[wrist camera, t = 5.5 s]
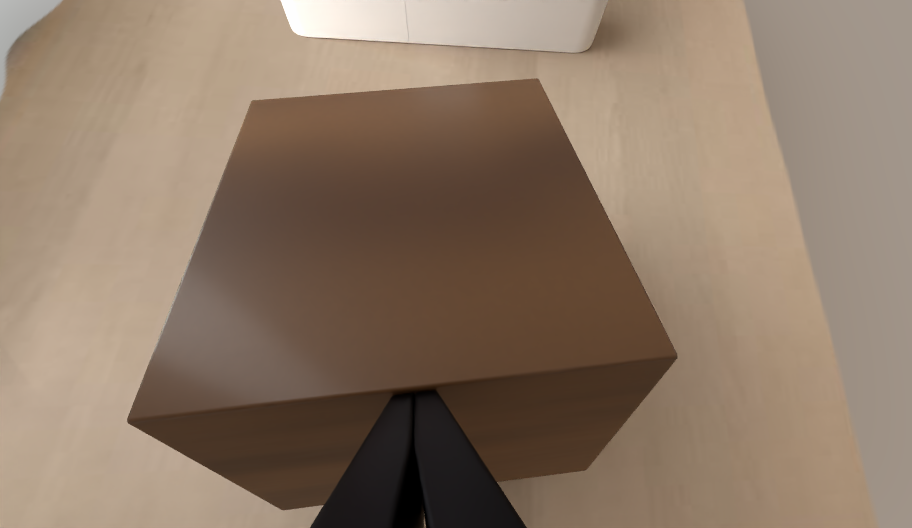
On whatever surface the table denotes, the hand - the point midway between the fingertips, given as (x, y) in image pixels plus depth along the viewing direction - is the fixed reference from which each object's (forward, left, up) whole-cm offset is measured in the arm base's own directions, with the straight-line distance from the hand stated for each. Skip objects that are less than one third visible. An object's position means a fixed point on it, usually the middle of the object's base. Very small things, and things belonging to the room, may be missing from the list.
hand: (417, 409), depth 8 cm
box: (+3, +1, -9) cm, 9 cm away
